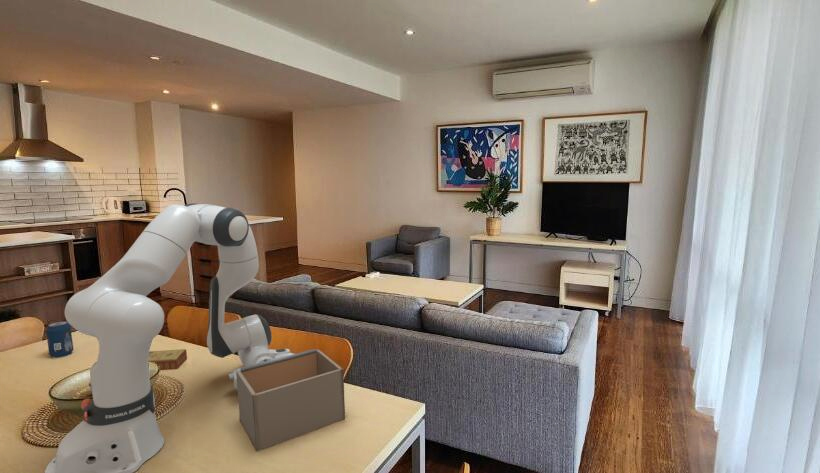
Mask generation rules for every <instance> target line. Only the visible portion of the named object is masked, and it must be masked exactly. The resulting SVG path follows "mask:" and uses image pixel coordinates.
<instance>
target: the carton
mask: <svg viewBox="0 0 820 473" xmlns="http://www.w3.org/2000/svg"><path fill="white" fill-rule="evenodd" d="M187 360H188V354H187V349H184V348H183V349H182V348H181V349H171V350H169V349H168V350H155V351H154V350H153V351H152V350H151V351H149V359H148V361H151V362H155V363H157V364H158V365H159V366H160V370H159V371H168V370H179V368H180V367H181V366H182V365H183V364H184V363H185V362H186V361H187Z"/></svg>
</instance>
